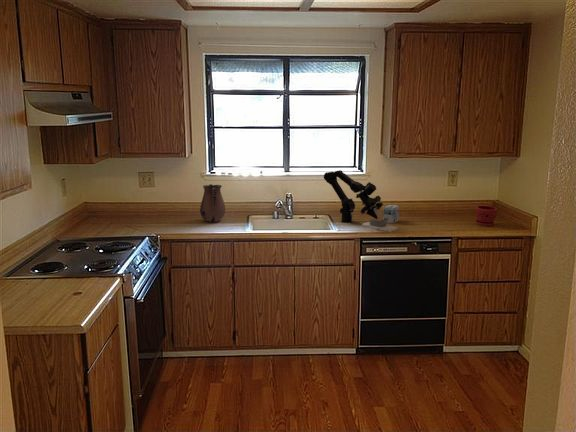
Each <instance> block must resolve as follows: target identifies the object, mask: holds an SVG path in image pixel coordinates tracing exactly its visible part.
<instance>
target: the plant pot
mask: <svg viewBox="0 0 576 432" xmlns="http://www.w3.org/2000/svg"><path fill="white" fill-rule="evenodd" d="M497 212H498V208H497V207H494V206H490V205H477V206H476V208H475V218H476V220H475V223H476V224H477V225H479V226H483V227H491V226H493V225H494V224H495V220H496V217H497Z"/></svg>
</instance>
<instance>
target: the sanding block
mask: <svg viewBox="0 0 576 432" xmlns="http://www.w3.org/2000/svg"><path fill="white" fill-rule="evenodd" d="M374 212H375V214H376V215H377V217H378V219H375V218H374V217H373V219H370V220H369V222H370V225H374V226H379V227H382V226H385V225H387V223H386V221H385V220H384V219H383V217H384V209H380V210H379V209H376V210H374Z"/></svg>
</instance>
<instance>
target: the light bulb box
mask: <svg viewBox="0 0 576 432" xmlns="http://www.w3.org/2000/svg"><path fill="white" fill-rule="evenodd" d="M399 214H400V206H399V205H395V204H389V205H386V206H384V207H383V220H385V221H386V224H387V223H388V224H395V223H398V222H399Z"/></svg>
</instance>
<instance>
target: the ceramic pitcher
mask: <svg viewBox="0 0 576 432" xmlns="http://www.w3.org/2000/svg"><path fill="white" fill-rule="evenodd" d="M222 186H223V185H221V184H214V185H213V184H212V183H211V184H206V185H205V184H204V185H203V186H202V188H203V196H202V199H201V202H200V207H199V214H200V216H201V217H202V219H203V220H204V221H205V222H208V221H209V223H215V222H217V223H218V222H220V221H221V220H222V219H223V218H224V216H225V214H226V207H225V201H224V199H223V194H222V191H221V188H222Z"/></svg>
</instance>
